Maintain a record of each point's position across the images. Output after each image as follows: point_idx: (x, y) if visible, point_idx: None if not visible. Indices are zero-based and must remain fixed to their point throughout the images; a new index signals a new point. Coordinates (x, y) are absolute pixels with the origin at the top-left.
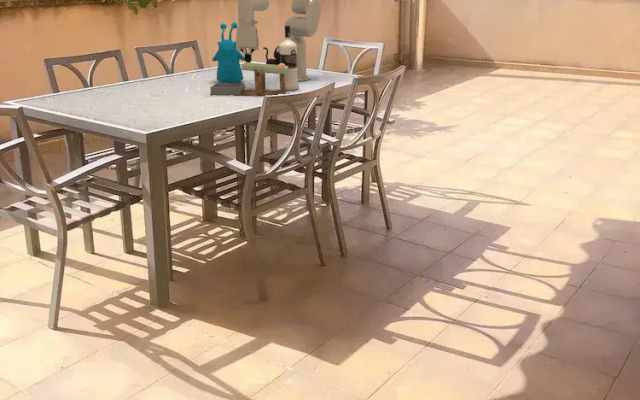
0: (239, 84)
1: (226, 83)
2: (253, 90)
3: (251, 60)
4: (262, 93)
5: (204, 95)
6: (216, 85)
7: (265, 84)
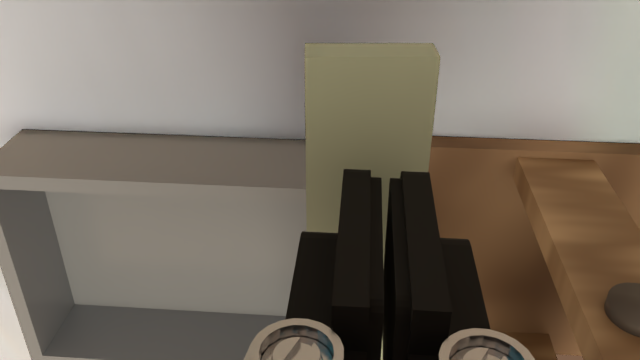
0: (275, 195)
1: (109, 192)
2: (448, 207)
3: (466, 243)
4: (552, 343)
5: (9, 294)
6: (5, 190)
7: (613, 196)
